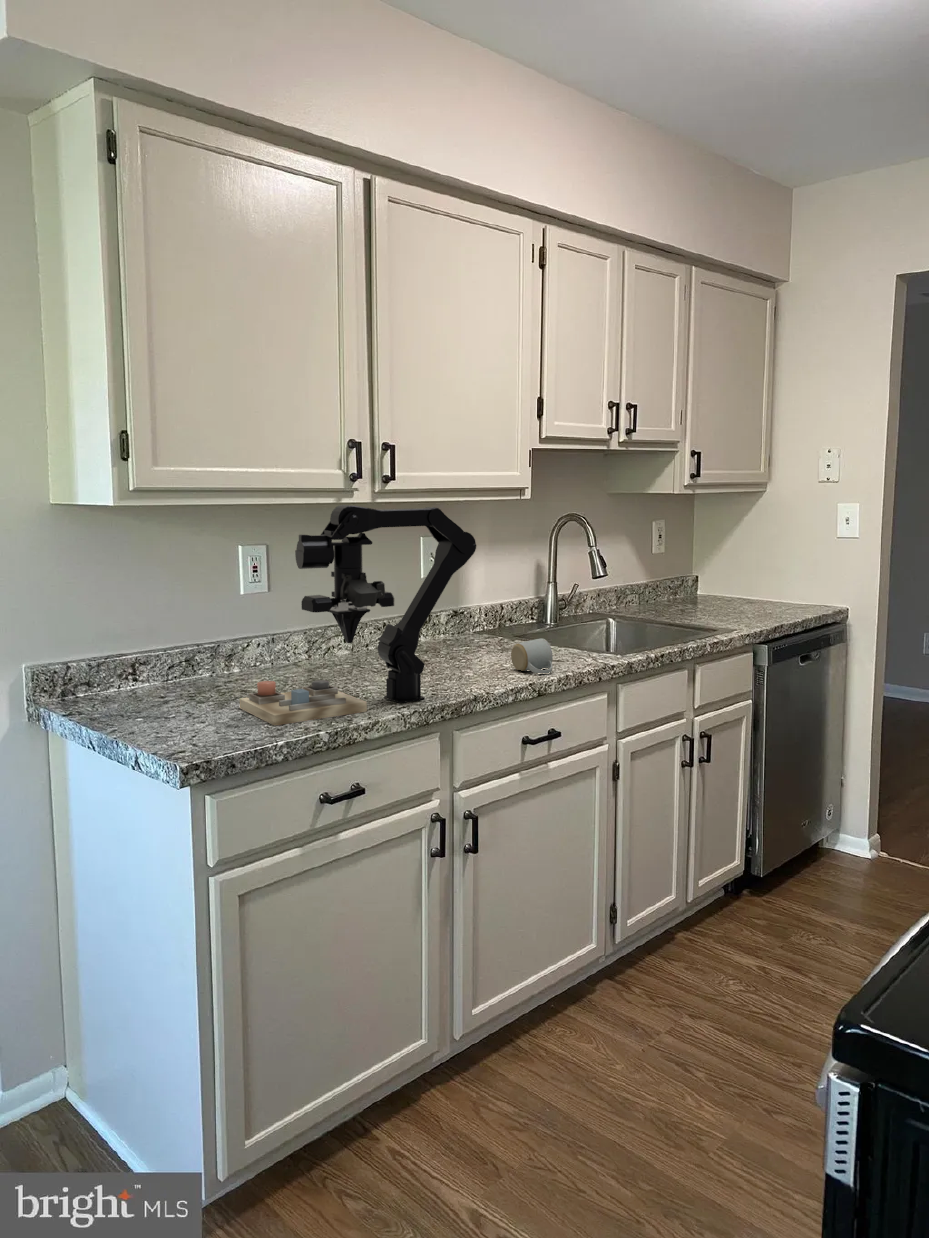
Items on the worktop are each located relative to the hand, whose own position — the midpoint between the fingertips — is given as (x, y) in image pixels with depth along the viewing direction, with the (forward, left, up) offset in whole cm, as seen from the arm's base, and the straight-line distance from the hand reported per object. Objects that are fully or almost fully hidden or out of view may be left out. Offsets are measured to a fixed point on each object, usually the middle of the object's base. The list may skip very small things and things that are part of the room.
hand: (349, 643), depth 198 cm
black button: (+4, -5, -11) cm, 13 cm away
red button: (+16, -5, -10) cm, 19 cm away
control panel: (+10, -1, -13) cm, 16 cm away
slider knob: (+13, +3, -11) cm, 17 cm away
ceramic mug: (-55, -6, -13) cm, 57 cm away
